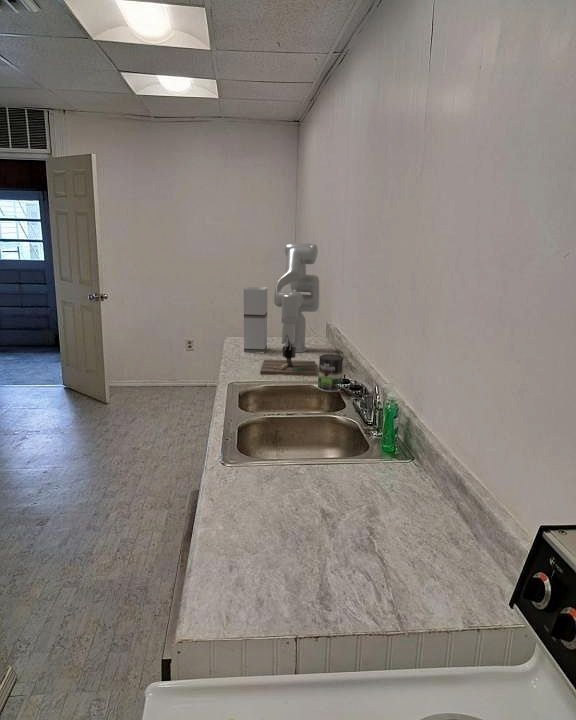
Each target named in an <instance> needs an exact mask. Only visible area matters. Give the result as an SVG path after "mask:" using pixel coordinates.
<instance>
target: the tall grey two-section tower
mask: <svg viewBox="0 0 576 720" xmlns="http://www.w3.org/2000/svg"><path fill="white" fill-rule="evenodd" d="M266 349H268V287H266V286H247V287H246V288H243V352H244V353H255V352H265V353H266V351H267V350H266ZM265 350H266V351H265Z"/></svg>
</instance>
